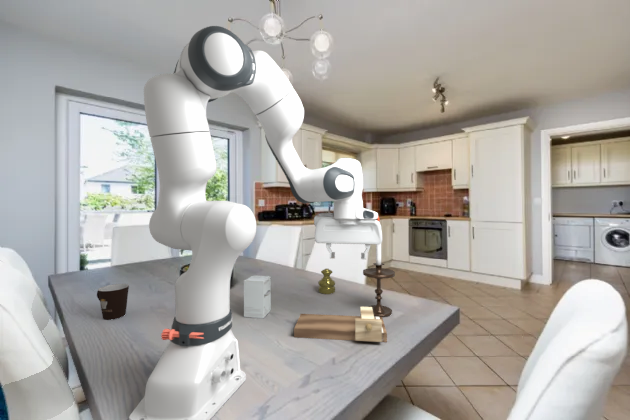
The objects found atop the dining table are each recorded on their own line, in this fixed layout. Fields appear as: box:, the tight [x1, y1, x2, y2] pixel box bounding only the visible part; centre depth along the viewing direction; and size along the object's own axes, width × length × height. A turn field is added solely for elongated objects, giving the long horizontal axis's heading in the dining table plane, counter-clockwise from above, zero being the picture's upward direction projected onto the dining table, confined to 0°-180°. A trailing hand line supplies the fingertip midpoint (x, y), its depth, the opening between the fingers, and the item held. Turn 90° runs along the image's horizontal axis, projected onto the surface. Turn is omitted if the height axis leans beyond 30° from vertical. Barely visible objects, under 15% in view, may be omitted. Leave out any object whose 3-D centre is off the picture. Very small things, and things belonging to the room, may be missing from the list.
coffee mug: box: [96, 283, 130, 321], centre depth 97 cm, size 12×9×10 cm
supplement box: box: [243, 275, 272, 319], centre depth 97 cm, size 7×7×13 cm
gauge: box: [355, 306, 383, 343], centre depth 80 cm, size 12×7×6 cm, turn 173°
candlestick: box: [362, 215, 396, 318], centre depth 97 cm, size 11×11×35 cm
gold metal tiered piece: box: [317, 268, 336, 295], centre depth 121 cm, size 7×8×10 cm
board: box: [293, 313, 388, 343], centre depth 83 cm, size 11×26×3 cm, turn 83°
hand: (347, 258), depth 84 cm, fingers open, 8 cm apart
